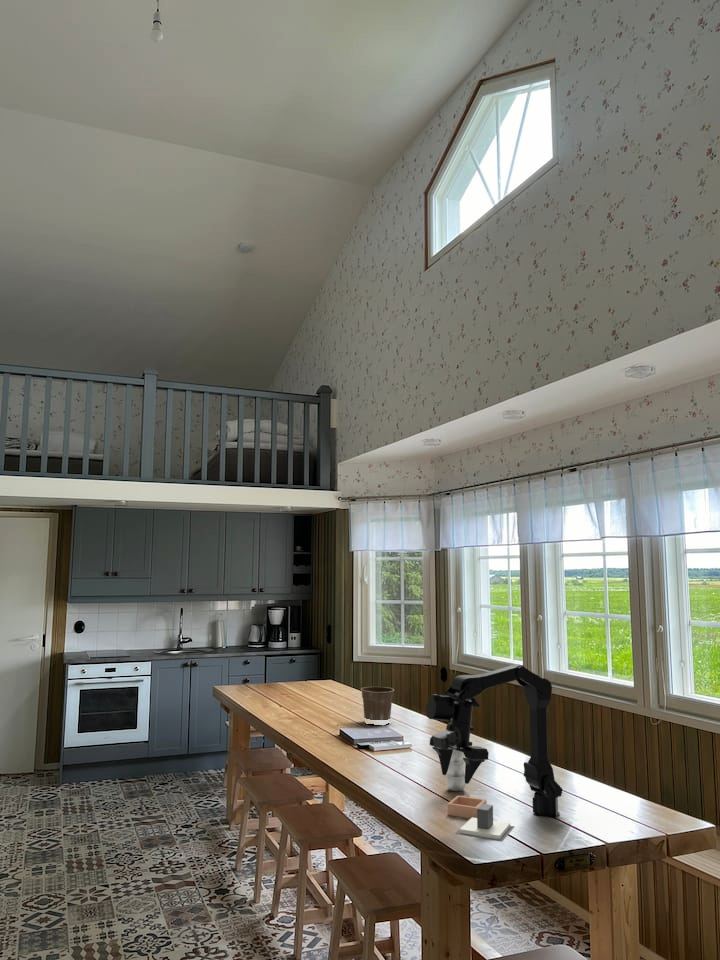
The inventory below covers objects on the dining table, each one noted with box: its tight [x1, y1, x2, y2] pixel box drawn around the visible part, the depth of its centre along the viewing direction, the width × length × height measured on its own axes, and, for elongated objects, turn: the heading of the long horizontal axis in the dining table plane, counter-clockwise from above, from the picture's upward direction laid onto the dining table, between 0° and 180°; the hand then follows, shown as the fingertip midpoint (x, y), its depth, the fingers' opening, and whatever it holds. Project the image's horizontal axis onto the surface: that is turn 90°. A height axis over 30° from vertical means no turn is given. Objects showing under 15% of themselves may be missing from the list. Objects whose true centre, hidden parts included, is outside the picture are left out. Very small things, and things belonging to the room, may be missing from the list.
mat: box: [454, 823, 515, 842], centre depth 199 cm, size 13×13×1 cm
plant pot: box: [360, 686, 395, 720], centre depth 347 cm, size 16×16×16 cm
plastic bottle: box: [445, 745, 466, 792], centre depth 239 cm, size 6×7×20 cm
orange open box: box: [447, 795, 487, 819], centre depth 213 cm, size 9×9×4 cm
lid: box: [459, 803, 511, 840], centre depth 199 cm, size 11×11×6 cm
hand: (455, 779), depth 203 cm, fingers open, 9 cm apart
